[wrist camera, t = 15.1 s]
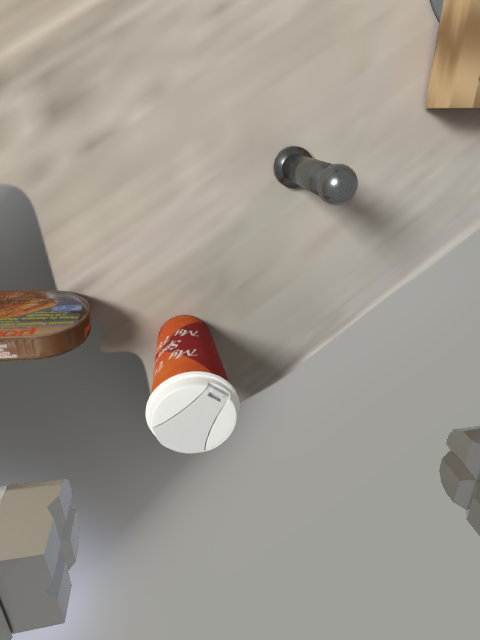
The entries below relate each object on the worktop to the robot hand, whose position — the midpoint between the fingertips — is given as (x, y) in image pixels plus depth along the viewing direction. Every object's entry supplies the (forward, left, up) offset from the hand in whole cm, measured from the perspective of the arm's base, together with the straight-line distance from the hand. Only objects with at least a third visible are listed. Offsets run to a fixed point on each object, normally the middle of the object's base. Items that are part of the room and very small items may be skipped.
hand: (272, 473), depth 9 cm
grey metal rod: (-2, +10, -34) cm, 36 cm away
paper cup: (+15, -1, -35) cm, 38 cm away
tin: (+10, -17, -35) cm, 40 cm away
